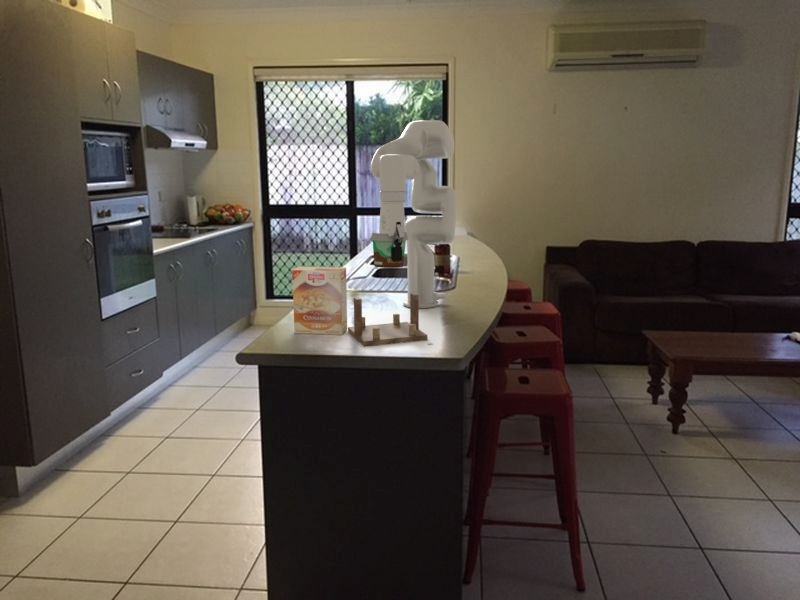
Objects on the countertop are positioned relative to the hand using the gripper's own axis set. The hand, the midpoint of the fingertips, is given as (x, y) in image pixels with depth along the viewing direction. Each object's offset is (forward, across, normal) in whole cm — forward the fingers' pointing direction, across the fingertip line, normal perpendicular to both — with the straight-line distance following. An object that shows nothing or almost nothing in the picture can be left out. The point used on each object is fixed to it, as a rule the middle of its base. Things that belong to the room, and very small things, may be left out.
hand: (392, 258), depth 197 cm
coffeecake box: (+23, -8, -20) cm, 31 cm away
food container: (+2, +1, 0) cm, 3 cm away
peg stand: (+22, +4, -3) cm, 23 cm away
